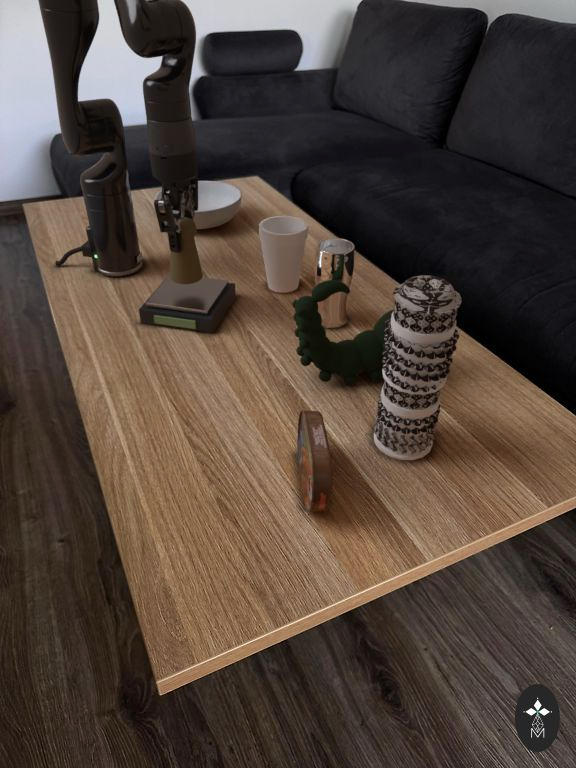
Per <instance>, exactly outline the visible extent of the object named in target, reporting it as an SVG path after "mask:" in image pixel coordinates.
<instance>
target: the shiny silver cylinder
mask: <svg viewBox="0 0 576 768" xmlns="http://www.w3.org/2000/svg"><path fill="white" fill-rule="evenodd" d="M354 270H355V244H354V243H353V242H352V241H350V240H348V239H345V238H341V237H327V238H322V239H321V240H319V241H317V243H316V250H315V257H314V273H313V274H314V283H315V286H316V285H317V284H319V283H321V282H323V281H328V280H337V281H340V282H343V283H344V284H346V285H347V286H348V287H349V289H350V290H351V287H352V282H353V278H354ZM348 297H349V294H346V293H344V292H337V293H335V294H333V295H331V296H329V297H328V298H327V299H325V300H324V301H321V302H317V304H318V312H319V313H320V315H321V318H322V324H321V325H322V326H323V327H324V328H325V329H337V328H338V329H339V328H341V327H343V326H345V325H346V323H348V314H347V302H348Z"/></svg>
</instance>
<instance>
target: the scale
mask: <svg viewBox="0 0 576 768" xmlns="http://www.w3.org/2000/svg"><path fill="white" fill-rule="evenodd" d="M169 275H170V274H168V275H167V276H166V278H167V277H168V276H169ZM166 278H164V280H163V281H162V282H161V283H160V285H161V284H162V283H163V282H164V281H165V280H166ZM228 283H229V284H228V286H227V287H226V288H225V290H224V291H223V293H222V294H221V296H220V297H219V299H218V300H217V302H216V303H215V305H214V306H213V308H212V309H211V311H210V312H209V314H208V315H206V314H199V313H192V312H184V311H177V310H170V309H162V308H155V307H147V306H146V301H145V302H144V303H143V304H142V305H141V306H140V307H139V309H138V312H139V313H138V314H139V318H140V319H139V320H140V324H143V325H144V324H145V325H150V326H158V327H165V328H170V329H178V330H184V331H185V330H186V331H192V332H199V333H207V334H213V333H214V332H215V330H216V329H217V327H218V326H219V324H220V322H221V321H222V319H223V317H224V316H225V315H226V313H227V311H228V310H229V309H230V306H231V305H232V304H233V302H234V300H235V299H236V298H237V296H236V295H237V293H236V283H235V282H228ZM158 288H159V286H158V287H157V288H156V289H155V290H154V291H153V293H154V292H155V291H156V290H157V289H158ZM153 293H152V294H151V295H150V296H149V297H148V298H147V300H148V299H149V298H150V297H151V296H152V295H153Z"/></svg>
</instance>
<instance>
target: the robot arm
mask: <svg viewBox="0 0 576 768" xmlns="http://www.w3.org/2000/svg"><path fill="white" fill-rule="evenodd" d="M37 1H38V6H39V10H40V15H41V20H42V24H43V29H44V33H45V38H46V42H47V47H48V52H49V58H50V64H51V70H52V76H53V77H52V78H53V82H54V83H53V84H54V93H55V100H56V107H57V115H58V121H59V127H60V132H61V133H60V134H61V137H62V140H63V143H64V146H65V148H66V150H67V152H68V153H69V154H70V155H71V156H73V157H87V156H95V155H102V154H103V155H102V157H101V158H100V159H99V160H98V162H97V163H95V164H94V165H93V166H91V167H89V168H87V169H86V170H85V171H83V172H82V173H81V174H80V178H79V181H80V187H81V192H82V197H83V201H84V206H85V211H86V215H87V220H88V221H87V222H88V226H87V227H86V228H85V233H86V237H87V241H85V242H84V243H83V244H81V246H79V247H75V248H72V249H70V250H68V251H66V252H64V254H63V256H62V257H61V258H60V259H59V260H56V261H55V266H56V267H58V266H62V265H64V264H65V263H66V262H67V260H68V259H69V258H70V257H71V256H72V255H75V254H77V253H82V256H83V257H86V258H91V260H92V266H93V270H94V271H95V272H98V273H100V274H101V275H103V276H106V277H114V278H117V277H119V278H120V277H125V276H131V275H133V274H135V273H137V272H139V271H140V270H141V269H142V268H143V251H142V250H140V249H141V248H140V243H139V235H138V229H137V223H136V216H135V211H134V203H133V198H132V192H131V191H132V190H131V184H130V177H129V165H128V159H127V148H126V139H125V130H124V124H123V118H122V114H121V111H120V109H119V107H118V105H117V104H116V102H115V101H114V99H111V98H96V99H86V100H79V83H80V77H81V73H82V69H83V65H84V63H85V60H86V58H87V55H88V53H89V51H90V48H91V46H92V44H93V41H94V39H95V37H96V34H97V31H98V27H99V23H100V9H99V1H98V0H37ZM113 4H114V6H115V9H116V10H115V11H116V14H117V19H118V22H119V26H120V27H119V28H120V30H121V35H122V37H123V39H124V42H125V43H126V45H127V47H128V48H129V49H130V50H131V51H132V52H133V53H134V54H135V55H137V56H139V57H140V58H143V59H155V58H158V57H161V62H160V65H159V68H158V69H157V70H155V71H153V73H150V74H149V75H147V76H146V77H144V79H143V81H142V95H143V96H142V97H143V101H144V103H143V104H144V109H145V110H144V111H145V117H146V139H147V146H148V154H149V161H150V167H151V175H152V177H153V178H154V179H155V180H157V181H158V182H160V183H161V190H162V198H161V199H160V200H155V199H154V201H153V206H154V211H155V214H156V219H157V222H158V223H157V224H158V227H159V231H160V232H161V233H168V234H167V239H168V245H169V250H170V253H171V252H177V253H181V252H182V251H183V243H182V234H181V219H183V218H184V217H187V218H190V219H192V220H193V218H194V217H195V211H197V210H198V181H199V177H198V173H199V169H198V158H197V145H196V134H195V127H194V121H193V117H192V106H191V95H190V85H191V79H192V71H193V65H194V59H195V52H196V44H197V28H196V23H195V19H194V15H193V13H192V11H191V10H190V8H189V6H188V5H187V4H186V3H185V2H184V1H183V0H113ZM173 210H174V211H179V212H178V213H173ZM174 218H175V219H176V224H175V220H174ZM193 221H194V220H193Z"/></svg>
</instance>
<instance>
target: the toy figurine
mask: <svg viewBox="0 0 576 768" xmlns="http://www.w3.org/2000/svg"><path fill="white" fill-rule="evenodd" d="M337 292H344V293H346V294H348V295H349V294H350V293H351V288H350V289H349V287H348V286H347V285H346V284H344V283H343V282H340V281H337V280H328V281H323V282H321V283H319V284H317V285H316V284H315V286H313V288H312V289H311V295H303V296H300V297H299V298H298V299H294V300H293V301H292V302H291V304H292V307H293V308H294V311H295V313H294V314H293V316H292V319H293V320H294V321H295V326H297V328H296V329H295V330H294V336H295V337H296V338H298V341H299V342H298V347H296V354H297V356H299V357H300V359H299V363H300V365H302V366H303V367H307V366H310V365H311V363H313V365H314V367H315V368H317V369H319V370H320V371H319V372H318V379H320V381H321V382H324V383H327V382H329V381H331V380H332V376H333V375H332V374H336V375H337V376H339V377H342V378H343V379H344V383H345V385H348V386H354V385H356V383H357V381H358V377H357V376H359V375H361V374H362V373H363V372H365V373H368V376H369V378H370V379H371V380H372V381H375V382H376V381H377V382H378V381H379V382H380V381H381V380H384V378H383V373H382V366H383V364H384V363H383V361H382V360H383V358H384V356H383V351H384V350H385V349H384V347H383V346H384V343H385V340H384V336H385V335H386V333H385V327H387V326H386V325H385V322H386V320H388V319H389V315H390V314H392V313H393V311H394V308H393V309H391V310H389V311H387V312H385V313H383V314H382V315H381V316H380V317H379V318H378V319H377V321H376V323H375V324H374V327H373V329H366V330H364V331H361V332H360V333H359V332H358V334H356V335H355V337H353V338H352V339H343V340H340V341H338V342H335V341H332V340H330V338H329V337H328V336H327V333H326V328H325V327H323V326H322V325H321V324H322V318H321V315H320V313H319V312H318V302H321V301H324V300H325V299H327V298H328V297H329V296H331V295H333V294H335V293H337ZM390 327H391V325H390Z"/></svg>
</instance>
